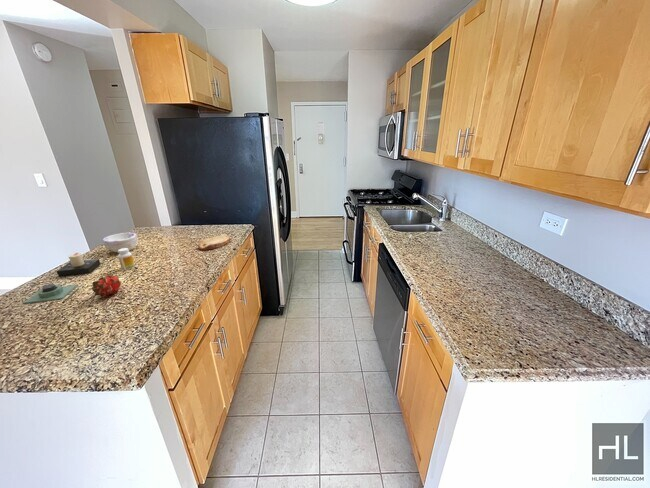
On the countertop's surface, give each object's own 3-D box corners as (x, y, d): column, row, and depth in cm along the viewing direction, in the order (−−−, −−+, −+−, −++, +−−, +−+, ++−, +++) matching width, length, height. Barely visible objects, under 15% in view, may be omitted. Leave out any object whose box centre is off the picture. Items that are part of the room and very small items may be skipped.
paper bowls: (146, 244, 154) (142, 232, 151) (125, 255, 140) (121, 241, 137) (122, 244, 155) (118, 231, 152) (99, 254, 141) (94, 240, 138)
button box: (25, 307, 96) (20, 298, 95) (44, 293, 105) (39, 285, 104) (64, 302, 99) (60, 293, 98) (79, 289, 108) (75, 280, 107)
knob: (81, 266, 122) (77, 255, 120) (70, 267, 120) (66, 257, 118) (86, 262, 125) (82, 252, 123) (75, 263, 124) (71, 253, 122)
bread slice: (230, 237, 166) (229, 231, 165) (231, 247, 151) (231, 241, 149) (199, 240, 160) (198, 235, 159) (198, 251, 144) (196, 245, 143)
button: (41, 293, 99) (39, 289, 98) (47, 288, 102) (45, 284, 102) (52, 291, 100) (50, 287, 99) (58, 287, 103) (57, 283, 102)
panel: (58, 277, 118) (56, 270, 117) (72, 267, 127) (69, 261, 126) (90, 273, 121) (87, 267, 120) (100, 264, 130) (98, 258, 129)
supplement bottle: (137, 265, 129) (132, 247, 126) (131, 270, 124) (125, 251, 121) (126, 265, 129) (120, 247, 125) (119, 270, 124) (113, 251, 120)
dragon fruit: (98, 306, 100) (118, 293, 111) (115, 292, 99) (133, 281, 111) (79, 290, 98) (102, 279, 109) (96, 276, 97) (117, 266, 109)
